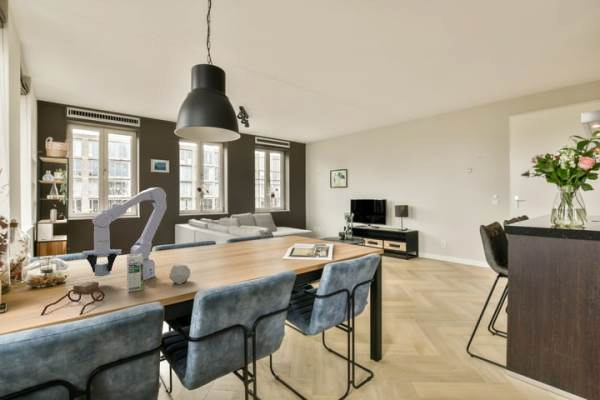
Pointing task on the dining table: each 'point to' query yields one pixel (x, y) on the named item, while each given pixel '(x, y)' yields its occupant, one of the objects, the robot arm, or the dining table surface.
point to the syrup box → (134, 272)
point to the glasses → (78, 299)
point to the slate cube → (101, 269)
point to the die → (179, 273)
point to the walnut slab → (86, 286)
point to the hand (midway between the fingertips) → (102, 271)
